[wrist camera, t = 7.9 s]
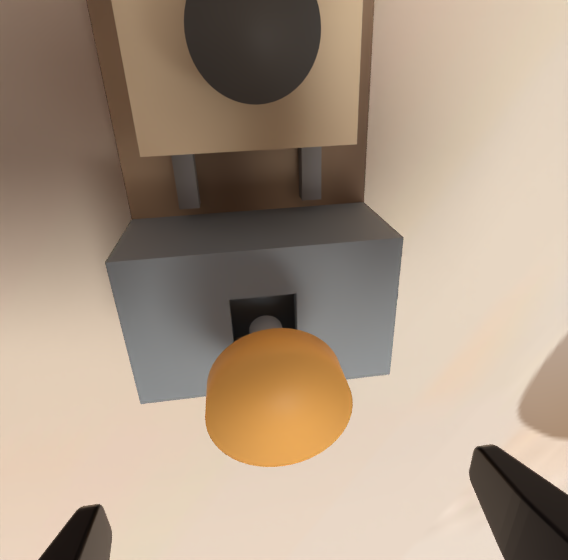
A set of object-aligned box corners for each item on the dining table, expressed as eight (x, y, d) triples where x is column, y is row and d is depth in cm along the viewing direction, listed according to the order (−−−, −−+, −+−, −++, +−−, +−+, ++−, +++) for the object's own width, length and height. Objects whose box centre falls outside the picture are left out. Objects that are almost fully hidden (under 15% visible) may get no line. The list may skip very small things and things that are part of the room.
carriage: (151, 145, 15) (109, 187, 9) (115, -63, 12) (26, -179, 7) (338, 134, 16) (404, 168, 10) (343, -63, 13) (436, -169, 7)
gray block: (160, 321, 21) (140, 404, 16) (138, 209, 19) (105, 262, 13) (359, 301, 22) (402, 372, 17) (365, 192, 20) (418, 236, 14)
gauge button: (215, 379, 16) (214, 475, 12) (202, 285, 14) (195, 363, 10) (319, 367, 16) (349, 456, 12) (320, 274, 14) (355, 345, 10)
